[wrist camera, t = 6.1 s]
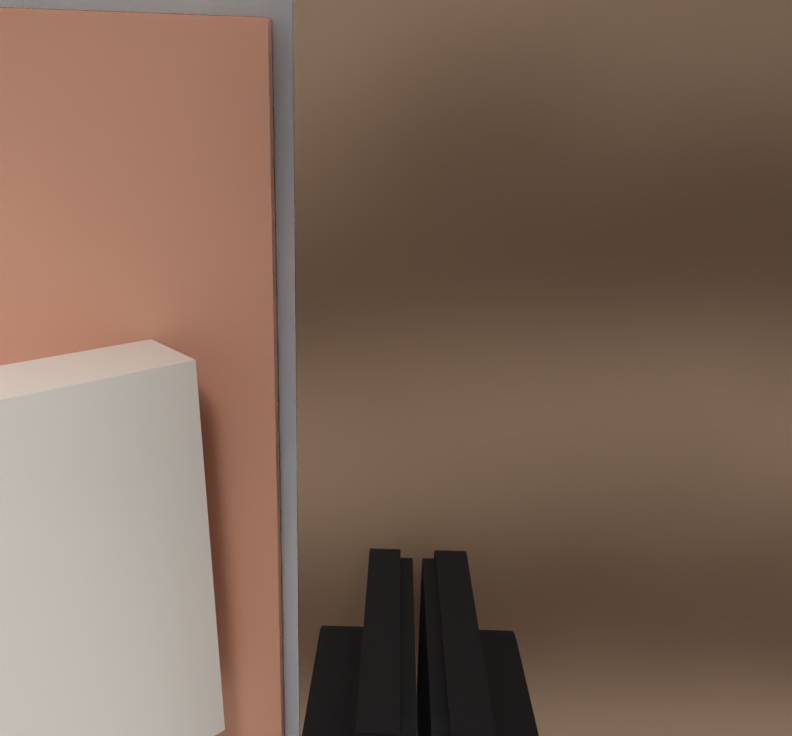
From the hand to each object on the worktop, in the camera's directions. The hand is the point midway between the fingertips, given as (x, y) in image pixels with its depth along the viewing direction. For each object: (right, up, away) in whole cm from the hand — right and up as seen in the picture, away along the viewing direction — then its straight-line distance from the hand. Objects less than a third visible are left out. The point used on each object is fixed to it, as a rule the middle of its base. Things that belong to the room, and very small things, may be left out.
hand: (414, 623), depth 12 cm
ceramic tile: (-6, 0, +1) cm, 6 cm away
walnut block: (+4, +1, +4) cm, 6 cm away
